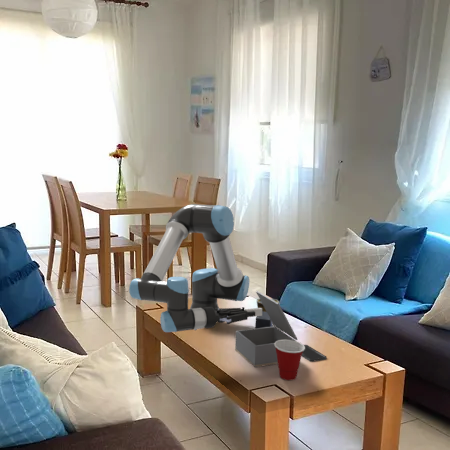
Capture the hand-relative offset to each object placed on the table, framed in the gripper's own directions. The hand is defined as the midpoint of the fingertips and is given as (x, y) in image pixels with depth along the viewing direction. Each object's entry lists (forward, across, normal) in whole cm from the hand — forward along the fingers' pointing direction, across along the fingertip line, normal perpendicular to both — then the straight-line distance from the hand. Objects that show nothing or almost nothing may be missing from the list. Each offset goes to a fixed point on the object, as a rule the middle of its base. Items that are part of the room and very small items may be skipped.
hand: (261, 311), depth 216 cm
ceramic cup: (+21, -38, -18) cm, 47 cm away
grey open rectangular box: (+2, 0, -18) cm, 18 cm away
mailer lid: (+6, 0, -2) cm, 7 cm away
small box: (+10, -17, -18) cm, 27 cm away
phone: (+19, +4, -18) cm, 27 cm away
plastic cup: (+1, +21, -18) cm, 28 cm away
